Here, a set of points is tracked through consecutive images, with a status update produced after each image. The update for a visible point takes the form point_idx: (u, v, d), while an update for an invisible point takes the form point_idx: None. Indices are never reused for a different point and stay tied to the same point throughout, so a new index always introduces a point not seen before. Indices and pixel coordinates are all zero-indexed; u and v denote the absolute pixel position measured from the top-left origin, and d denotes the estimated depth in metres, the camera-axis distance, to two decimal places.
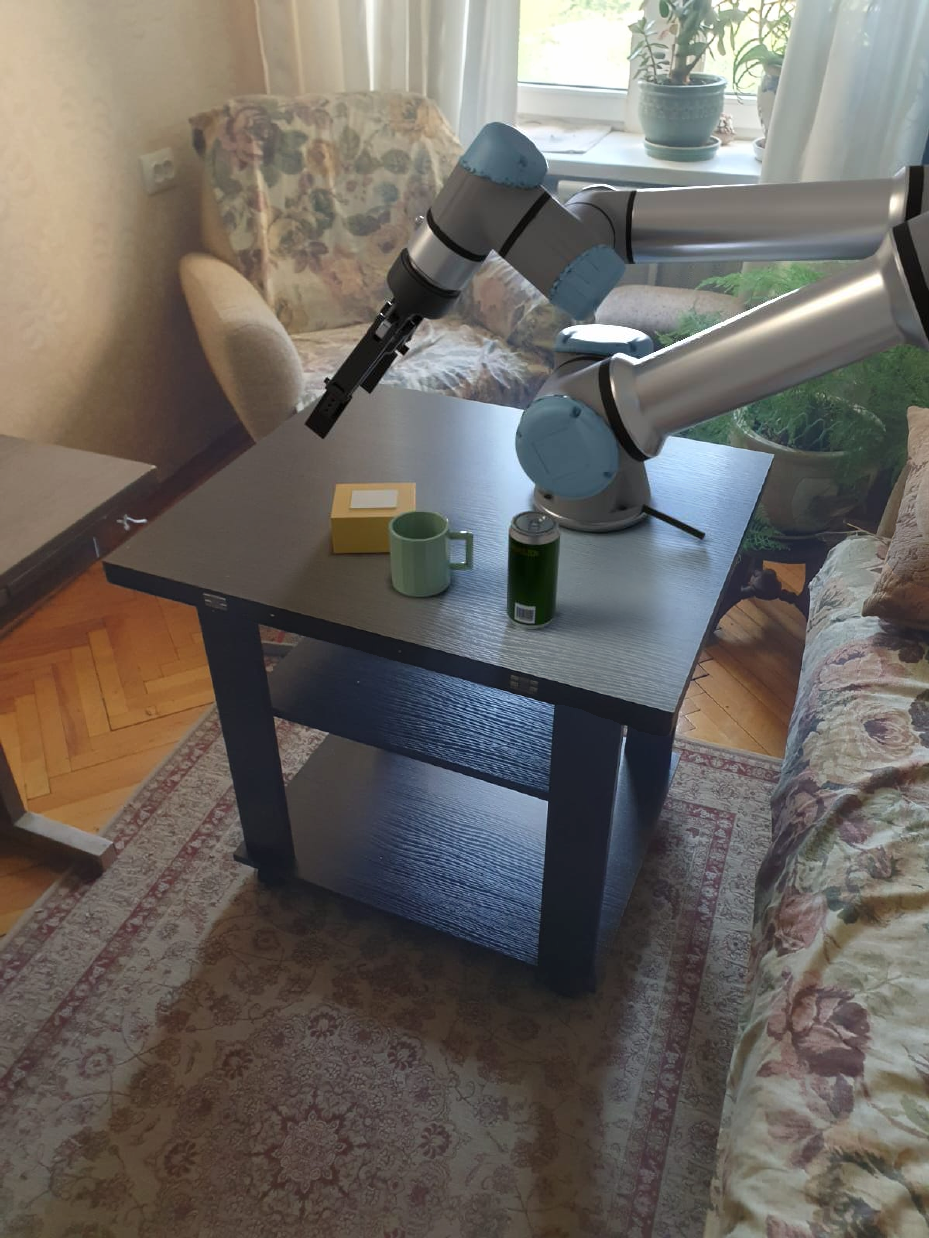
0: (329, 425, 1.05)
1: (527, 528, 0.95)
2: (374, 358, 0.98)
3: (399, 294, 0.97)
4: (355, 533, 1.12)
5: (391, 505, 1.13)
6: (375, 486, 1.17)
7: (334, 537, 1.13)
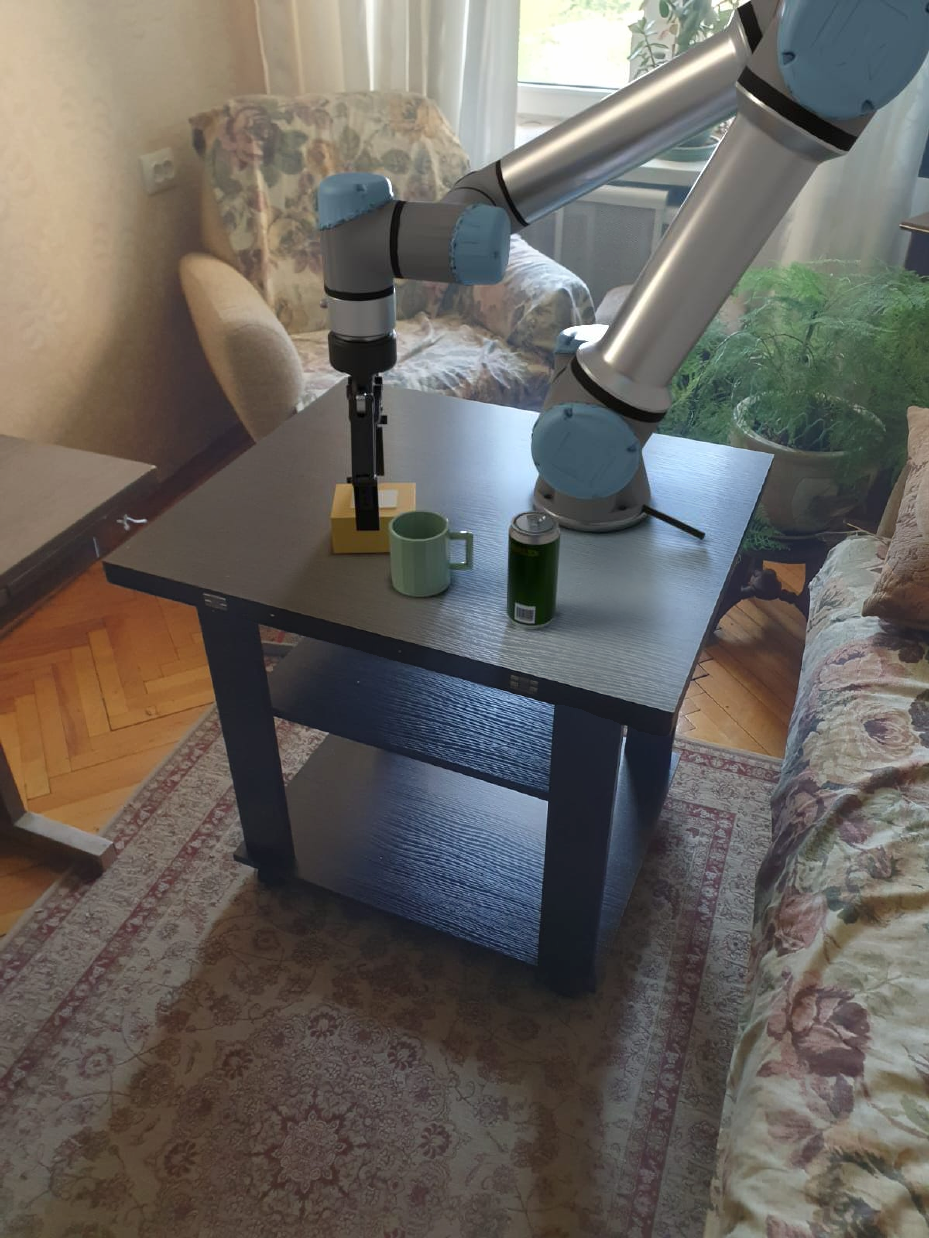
0: (376, 515, 1.08)
1: (527, 528, 0.95)
2: (371, 431, 1.01)
3: (351, 369, 1.01)
4: (355, 533, 1.12)
5: (391, 505, 1.13)
6: None
7: (334, 537, 1.13)
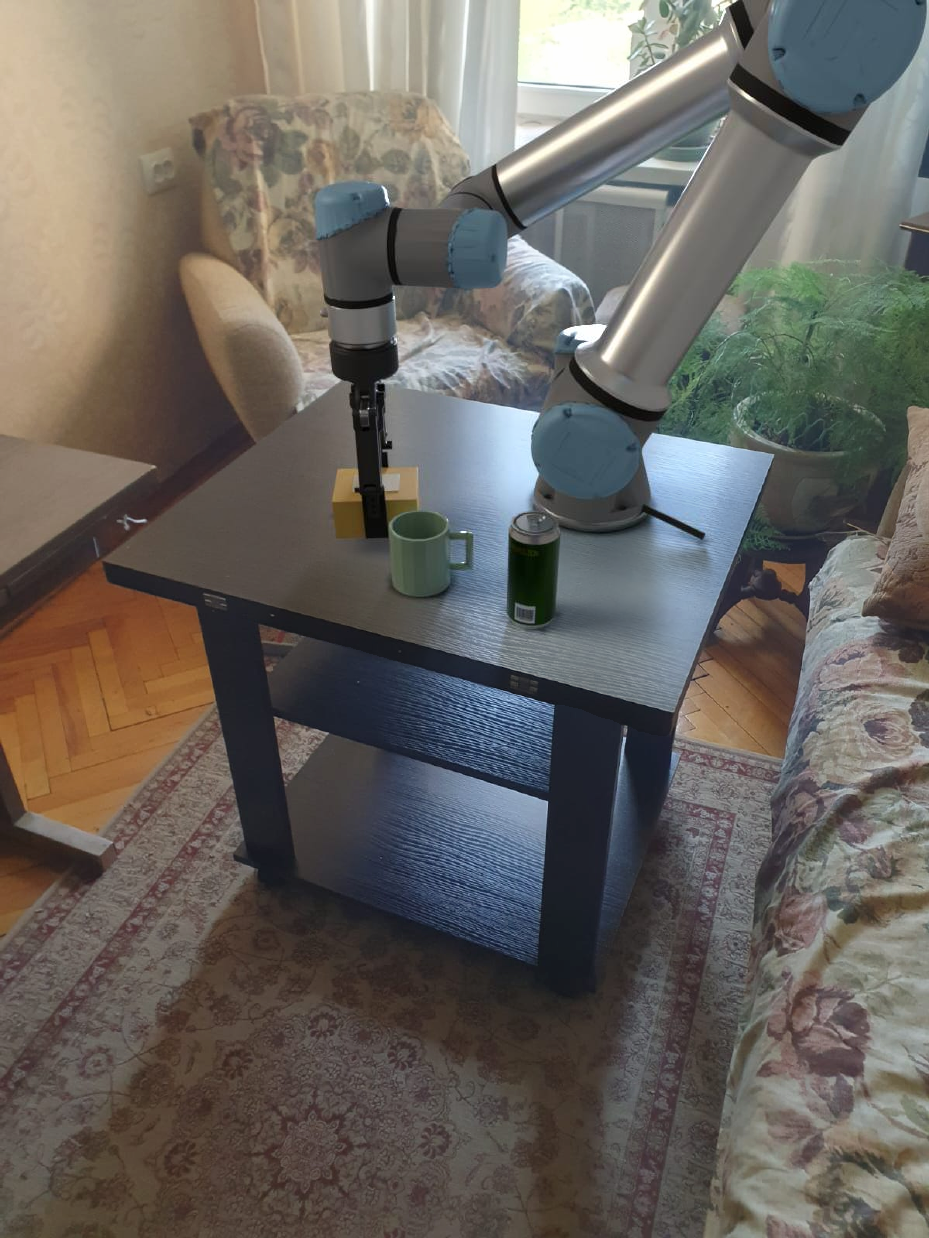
0: (384, 522, 1.11)
1: (527, 528, 0.95)
2: (376, 444, 1.03)
3: (354, 377, 1.02)
4: (357, 518, 1.11)
5: (393, 489, 1.12)
6: None
7: (336, 522, 1.11)
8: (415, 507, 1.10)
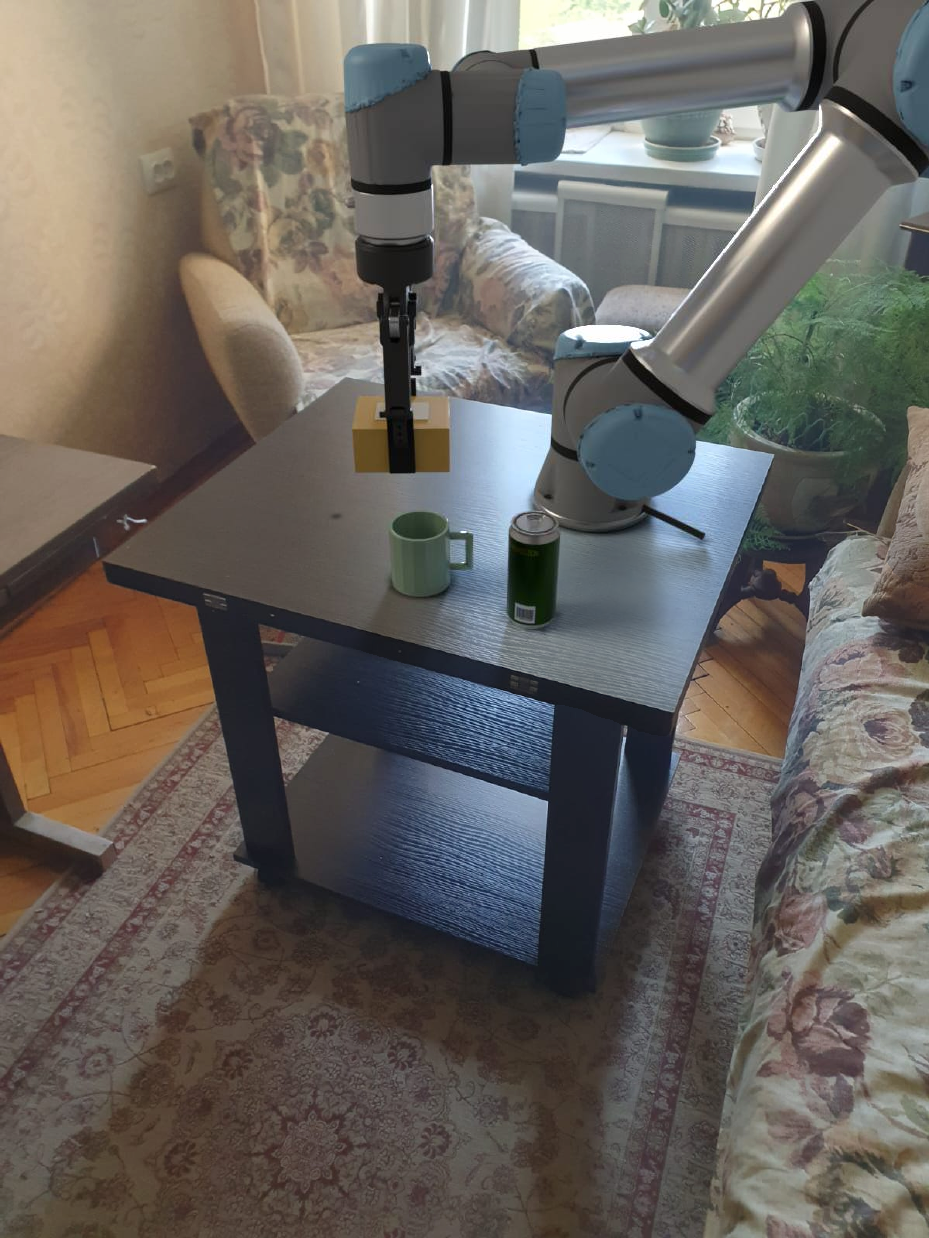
0: (411, 455, 0.97)
1: (527, 528, 0.95)
2: (406, 359, 0.89)
3: (383, 279, 0.88)
4: (380, 449, 0.97)
5: (422, 417, 0.98)
6: None
7: (356, 453, 0.97)
8: (447, 438, 0.97)
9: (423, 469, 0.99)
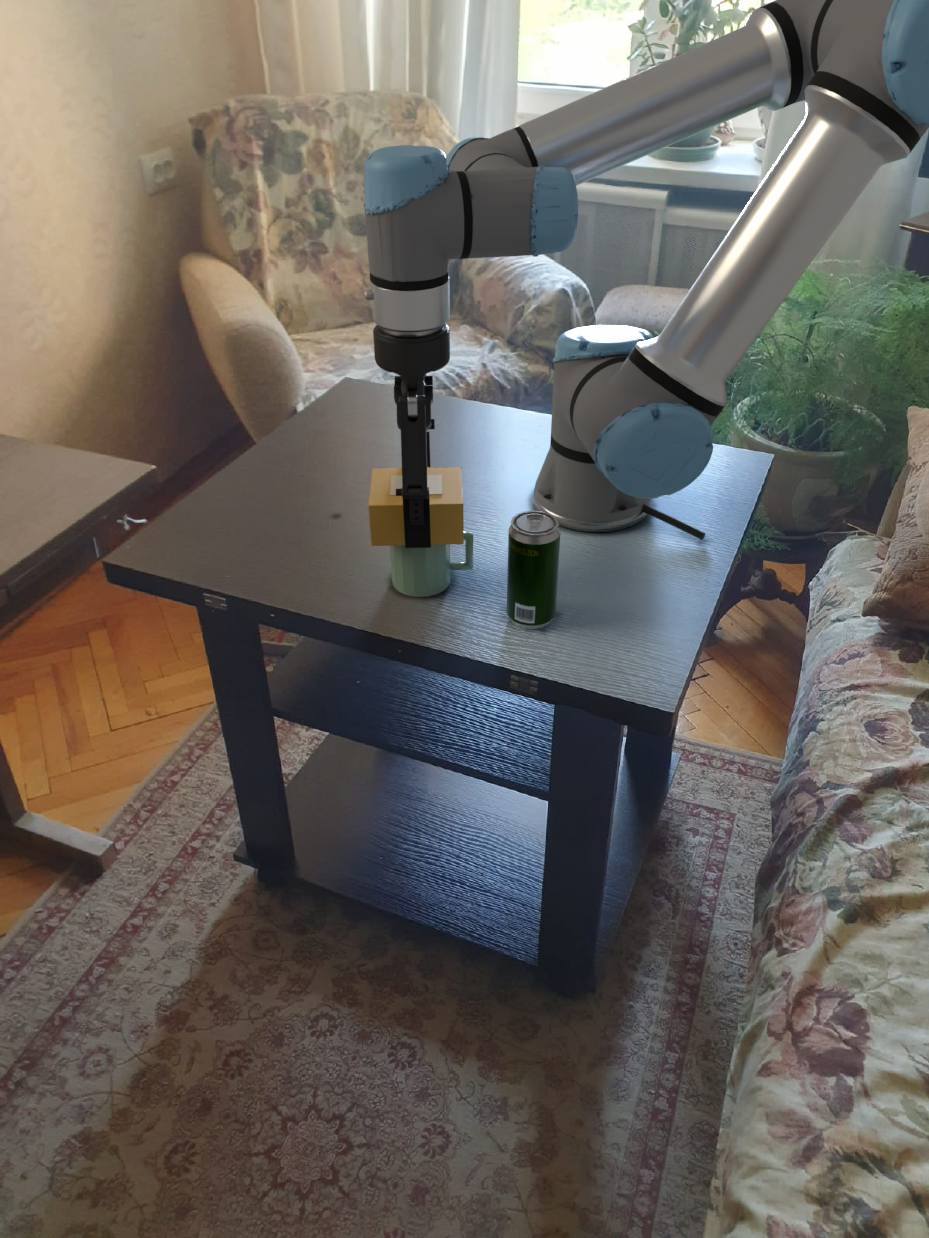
0: (427, 530, 0.97)
1: (527, 528, 0.95)
2: (424, 437, 0.90)
3: (401, 368, 0.90)
4: (396, 523, 1.00)
5: (436, 491, 1.00)
6: None
7: (372, 527, 1.00)
8: (461, 512, 0.99)
9: (438, 542, 1.01)
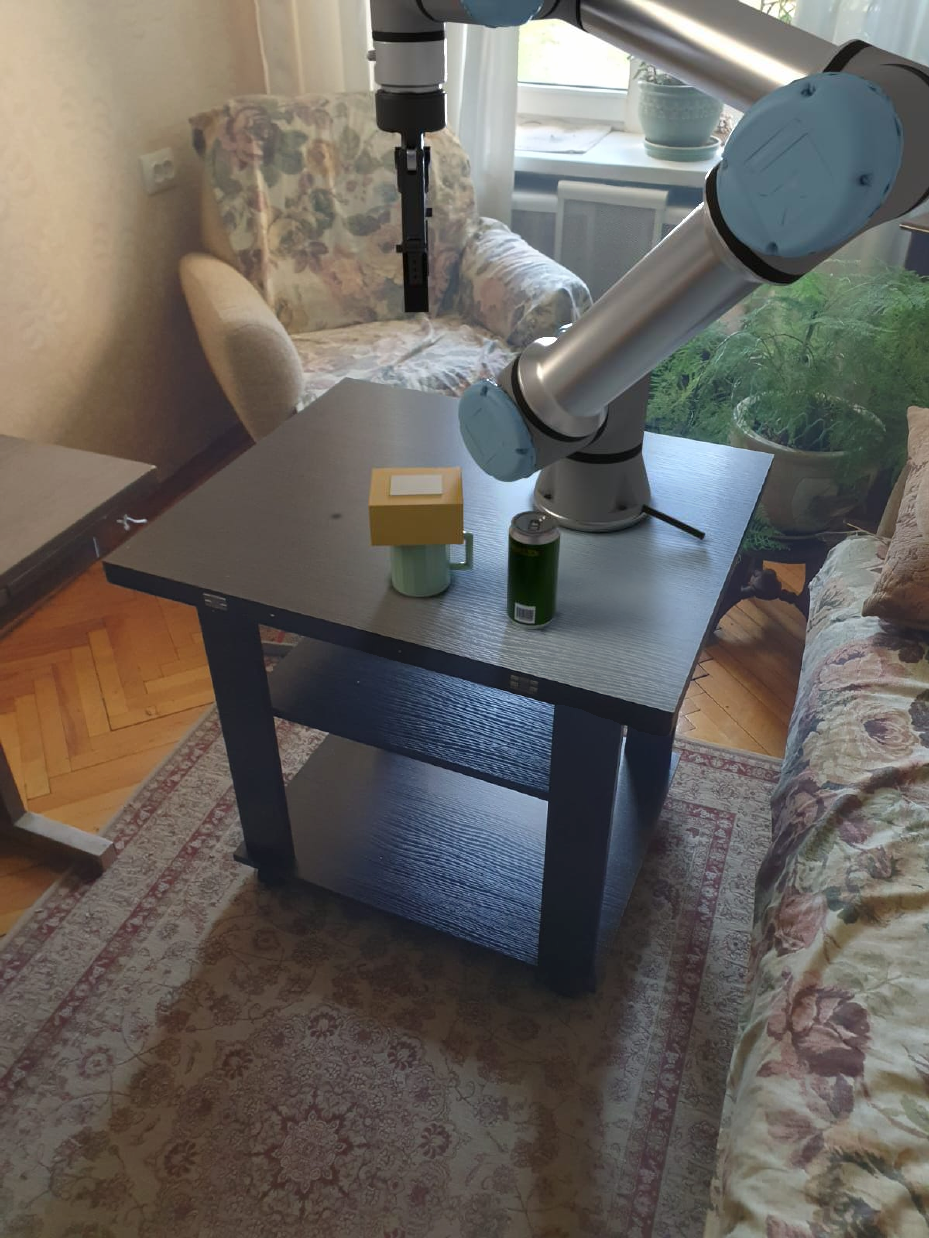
0: (425, 293, 1.03)
1: (527, 528, 0.95)
2: (422, 190, 0.97)
3: (401, 125, 0.97)
4: (396, 523, 1.00)
5: (436, 491, 1.00)
6: (416, 470, 1.05)
7: (372, 527, 1.00)
8: (461, 512, 0.99)
9: (438, 542, 1.01)
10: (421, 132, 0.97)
